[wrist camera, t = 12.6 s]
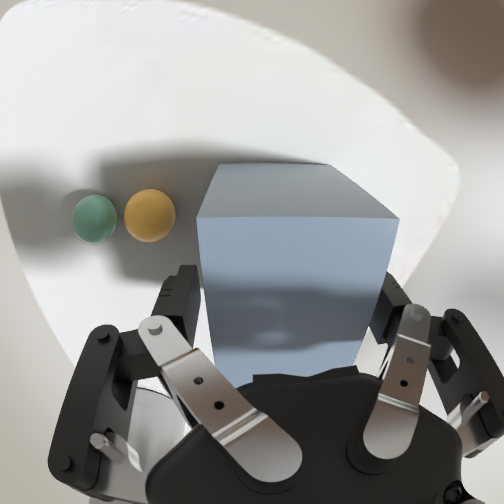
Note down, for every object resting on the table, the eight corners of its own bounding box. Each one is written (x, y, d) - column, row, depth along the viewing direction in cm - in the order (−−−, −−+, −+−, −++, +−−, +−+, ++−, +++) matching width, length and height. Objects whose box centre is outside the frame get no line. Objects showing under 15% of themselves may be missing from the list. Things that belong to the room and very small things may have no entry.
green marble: (127, 230, 16) (109, 252, 14) (91, 231, 16) (70, 253, 14) (120, 186, 15) (98, 202, 12) (82, 190, 15) (57, 207, 12)
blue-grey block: (219, 163, 15) (196, 217, 8) (330, 165, 15) (399, 219, 8) (225, 290, 19) (219, 388, 12) (315, 288, 19) (345, 380, 12)
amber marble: (182, 227, 17) (172, 251, 14) (138, 229, 16) (121, 252, 14) (178, 180, 15) (164, 197, 12) (131, 184, 15) (110, 201, 12)
